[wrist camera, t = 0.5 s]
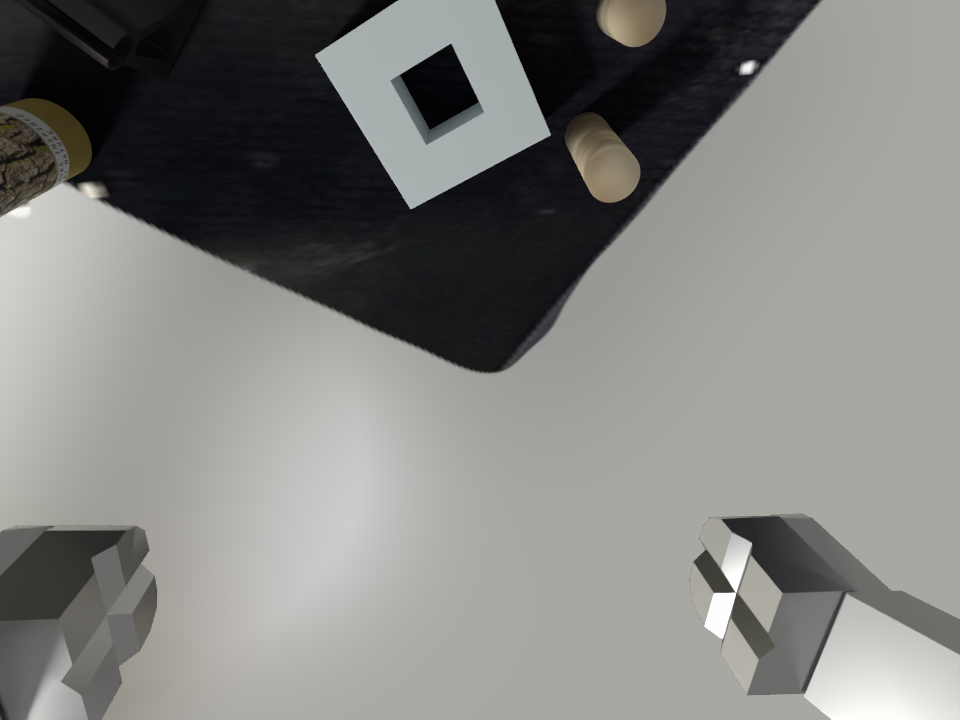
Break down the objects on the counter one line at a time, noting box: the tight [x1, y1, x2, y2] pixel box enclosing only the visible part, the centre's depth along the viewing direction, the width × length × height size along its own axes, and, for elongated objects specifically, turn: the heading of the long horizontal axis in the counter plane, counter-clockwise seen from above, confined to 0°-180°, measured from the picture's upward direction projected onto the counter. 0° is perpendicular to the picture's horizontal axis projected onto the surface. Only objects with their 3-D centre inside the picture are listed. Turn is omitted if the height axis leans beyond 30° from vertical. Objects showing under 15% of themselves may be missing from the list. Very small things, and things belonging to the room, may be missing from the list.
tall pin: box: [565, 112, 640, 202], centre depth 45 cm, size 4×4×12 cm
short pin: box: [596, 0, 666, 47], centre depth 42 cm, size 4×4×6 cm
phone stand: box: [14, 0, 204, 79], centre depth 39 cm, size 9×6×12 cm, turn 138°
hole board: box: [315, 0, 551, 209], centre depth 45 cm, size 14×14×5 cm
